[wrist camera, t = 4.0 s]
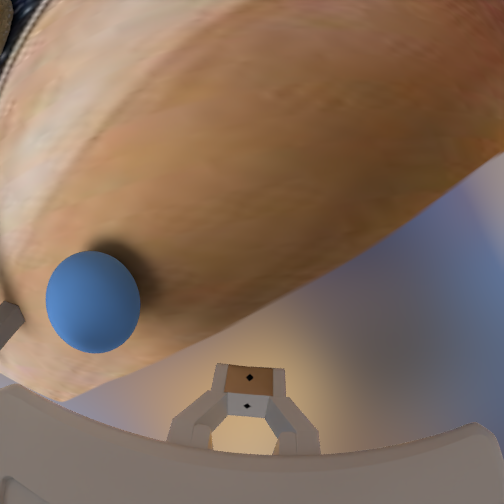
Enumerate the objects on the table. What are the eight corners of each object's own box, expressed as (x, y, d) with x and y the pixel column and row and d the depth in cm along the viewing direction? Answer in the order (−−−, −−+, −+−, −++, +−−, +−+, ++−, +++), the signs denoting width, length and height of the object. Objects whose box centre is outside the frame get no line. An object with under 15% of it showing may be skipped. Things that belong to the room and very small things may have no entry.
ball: (148, 237, 15) (94, 295, 10) (160, 318, 18) (127, 385, 12) (72, 232, 15) (13, 277, 10) (91, 305, 18) (50, 359, 13)
